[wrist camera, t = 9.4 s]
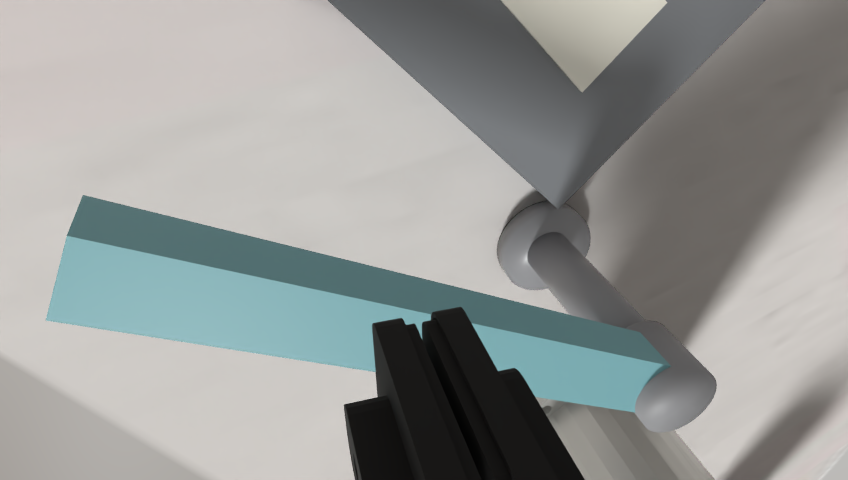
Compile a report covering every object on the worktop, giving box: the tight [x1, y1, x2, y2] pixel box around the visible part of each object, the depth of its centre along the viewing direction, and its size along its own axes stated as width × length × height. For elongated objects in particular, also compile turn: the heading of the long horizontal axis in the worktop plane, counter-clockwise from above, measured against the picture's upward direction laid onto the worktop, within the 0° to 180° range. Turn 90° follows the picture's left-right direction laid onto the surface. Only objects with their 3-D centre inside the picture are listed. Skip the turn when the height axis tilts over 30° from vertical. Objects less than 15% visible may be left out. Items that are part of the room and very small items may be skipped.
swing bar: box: [46, 195, 717, 433], centre depth 19 cm, size 23×3×3 cm, turn 64°
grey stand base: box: [328, 0, 765, 328], centre depth 23 cm, size 20×18×9 cm
